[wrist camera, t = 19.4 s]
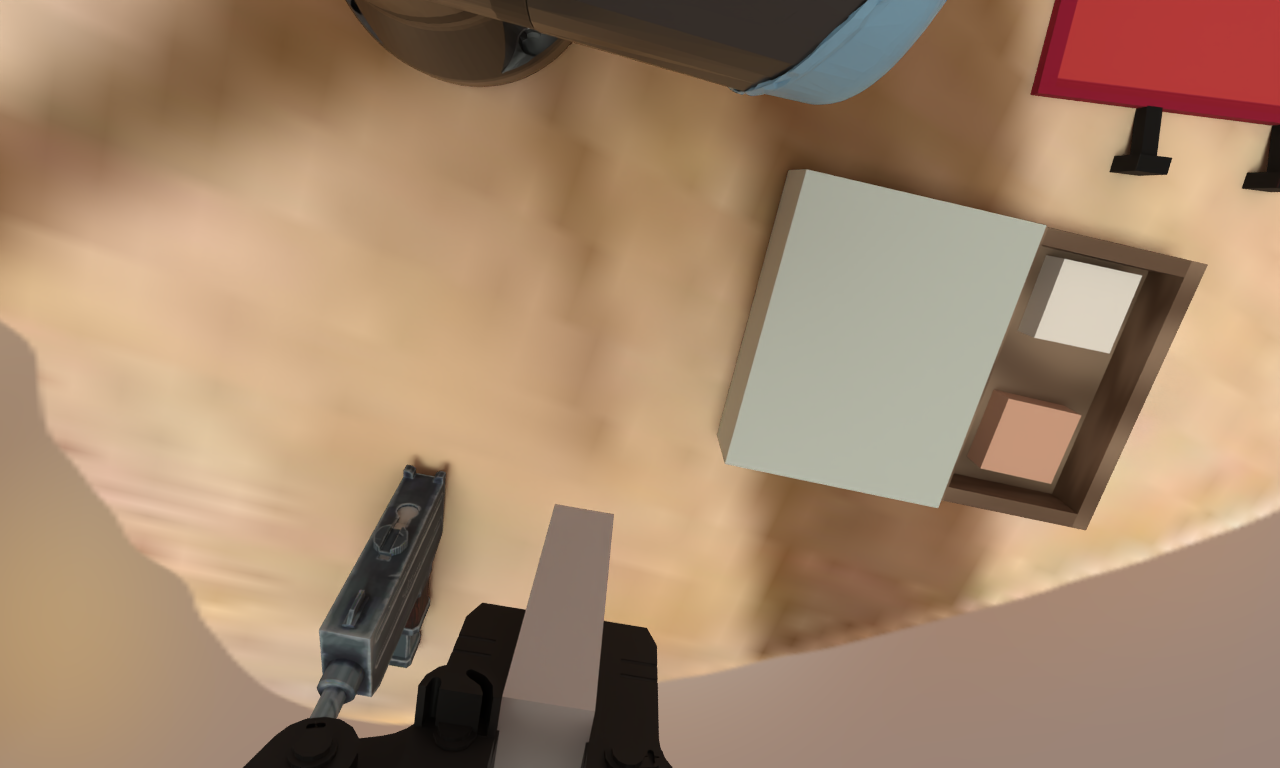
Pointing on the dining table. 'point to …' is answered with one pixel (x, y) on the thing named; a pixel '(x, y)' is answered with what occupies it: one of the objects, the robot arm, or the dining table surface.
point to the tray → (1080, 383)
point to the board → (872, 336)
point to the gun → (383, 596)
